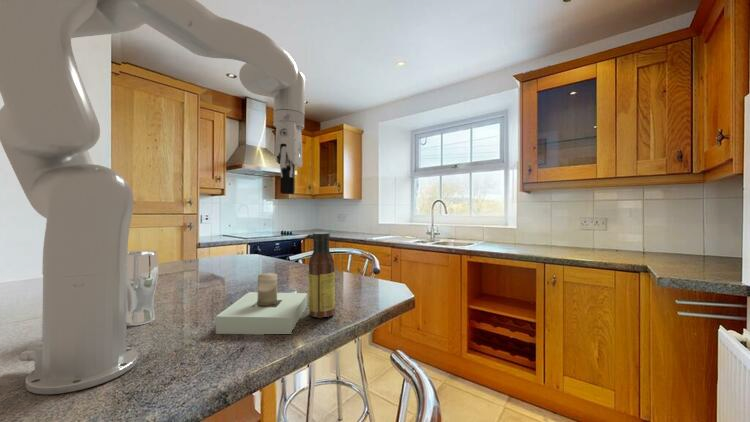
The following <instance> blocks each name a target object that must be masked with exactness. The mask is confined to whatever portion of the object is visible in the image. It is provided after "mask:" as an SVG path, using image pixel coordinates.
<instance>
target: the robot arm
mask: <svg viewBox="0 0 750 422" xmlns="http://www.w3.org/2000/svg"><path fill="white" fill-rule="evenodd" d="M143 25H147V26H149V27H150V28H152V29H154V30H155V31H157V32H159V33H160V34H163V35H164V36H166V37H167V38H169V39H170V40H172V41H174V42H175V43H177V44H178V45H180V46H181V47H183V48H184V49H186V50H188V51H189V52H191V53H193V54H194V55H197V56H200V57H205V58H211V59H226V60H234V61H239V62H242V63H244V64H243V65H242V67H240V69H239V76H238V77H239V81H240V83H241V85H242V86H243V87H244V88H245V89H246V90H247V91H249V92H250V93H252V94H254V95H258V96H264V97H268V98H273V127H274V128H276V129H275V130H276V131H275V143H274V144H275V145H274V157H275V158H274V159H275V160H274V161H275V162H276V163H277V164H278V165H279V169H280V188H279V190H280V192H279V193H280V194H283V195H294V194H295V190H296V189H295V185H296V184H295V183H296V179H295V177H296V167H298V168H302V167H303V136H302V131H303V130H304V129H305V103H306V77H305V75H304V73H302V72H301V71H299V70H298V66H297V64H296V62H295V61H294V58H292V56H291V55H290V54H289V53H288V52H287V50H285V49H284V48H283V47H282V46H281V45H279V44H278V42H276V41H275V40H274V39H272V38H270V36H268V35H267V34H265V33H263V32H261V31H259V30H257V29H255V28H253V27H250V26H248V25H244V24H241V23H239V22H236V21H234V20H232V19H229V18H228V19H227V18H224V17H221V16H219V15H218V14H215V13H214V12H212V11H211V10H209V9H208V8H207V7H206V6H204V4H202V3H200V2H199V1H198V0H0V95H1V98H2V100H3V104H4V105H3V106H2V107H1V108H0V143H1V146H2V148H3V150H4V153H5V155H6V157H7V159H8V162H9V164H10V166H11V168H12V170H13V172H14V175H15V176H16V179H17V180H18V182H19V184H20V186H21V190H22V191H23V193H24V195H25V196H26V198H27V200H28V202H29V204H30V205H31V207H32V208H33V209H34V210H35V211H36V212H37V213H38V215H40V216H41V217H43V218H45V219H46V221H45V222H46V225H45V231H44V238H43V249H42V270H41V271H42V272H41V273H42V326H41V328H42V329H41V330H42V332H41V334H42V337H41V338H42V339H41V341H33V342H31V343H30V344H29V345H28V346H27V348H26V350H25V351H22V352H21V353H20V354H19V355H18V359H19V361H20V362H34V369H33V370H32V371H31V372H30V373H28V375H27V376H26V377H25V379H24V380H25V381H24V382H25V389H26V390H27V391H28V392H30V393H32V394H37V395H57V394H58V395H59V394H67V393H73V392H76V391H77V392H78V391H82V390H86V389H88V388H89V389H90V388H93V387H96V386H99V385H101V384H104V383H107V382H110V381H112V380H114V379H116V378H118V377H120V376H122V375H124V374H125V373H127V372H129V371H130V370H131V369H132V368H133V367H135V365H136V364H137V363H138V359H139V355H138V354H139V353H138V351H137V350H136V349H134V348H133V347H129V346H127V326H126V322H127V252H129V251H128V249H129V248H128V247H129V235H130V227H131V224H132V217H133V214H134V213H133V212H134V206H135V205H134V204H135V203H134V202H135V201H134V194H133V191H132V188H131V186H130V184H129V183H128V181H127V180H126V178H124V177H123V176H122V175H121V174H120V173H119V172H117V171H115V170H113V169H112V168H109V167H106V166H103V165H99V164H94V163H93V161H92V157H91V155H90V153H89V150H91V149H92V148H93V147H94V146H95V145H96V144H97V143H98V142H99V139H100V137H101V135H100V134H101V125H100V122H99V120H98V117H97V115H96V113H95V110H94V108H93V106H92V103H91V100H90V98H89V97H90V96H89V95H88V93H87V89H86V88H85V85H84V81H83V80H82V78H81V77H82V76H81V75H80V72H79V70H78V66H77V62H76V60H75V55H74V52H73V47H72V39H75V38H85V37H93V36H94V37H95V36H102V35H103V36H104V35H113V34H118V33H119V34H120V33H125V32H130V31H134V30H136V29H139V28H140V27H142V26H143Z"/></svg>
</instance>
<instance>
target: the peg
mask: <svg viewBox="0 0 750 422" xmlns="http://www.w3.org/2000/svg"><path fill="white" fill-rule="evenodd" d="M257 292H258V301H257V305H258V306H259V307H275V305H276V304H277V293H278V274H277V273H271V272H270V273H261V274H258V275H257Z"/></svg>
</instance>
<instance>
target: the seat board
mask: <svg viewBox="0 0 750 422" xmlns="http://www.w3.org/2000/svg"><path fill="white" fill-rule="evenodd" d="M257 301H258V291H249V292H247V293H246V294H244V295H243V296H241V298H239V299H237V300H236V301H235V302H233V303H232V304H231V305H229V306H228V307H227V308H226V309H224V310H223V311H222V312H220V313H219V314H217V315H216V316H215V335H221V334H223V335H264V334H291V335H292V333H293V332H292V330H293V329H294V330H295V328H296V326H297V325H296V323H297V322H298V323H299V321H300V320H299V318H300V317H302V316H303V315H302V313H303V312H304V313H305V311H306V309H307V308H306V306H307V307H308V293H307V292H277V304H276V305H275V307H259V306H258V305H257ZM305 308H306V309H305ZM304 310H305V311H304ZM304 313H303V314H304ZM301 315H302V316H301ZM300 319H301V318H300ZM298 320H299V321H298ZM298 323H297V324H298ZM295 325H296V326H295ZM294 327H295V328H294ZM294 330H293V331H294ZM291 332H292V333H291Z"/></svg>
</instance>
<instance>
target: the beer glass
mask: <svg viewBox="0 0 750 422" xmlns="http://www.w3.org/2000/svg"><path fill="white" fill-rule="evenodd" d="M158 279H159V257H158V251H156V250H135V251H133V250H132V251H127V322H126V327H136V326H141V325H146V324H149V323H152V322H153V321H154V320H155V319H156V314H155V310H154V297H155V293H156V289H157V286H158Z"/></svg>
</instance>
